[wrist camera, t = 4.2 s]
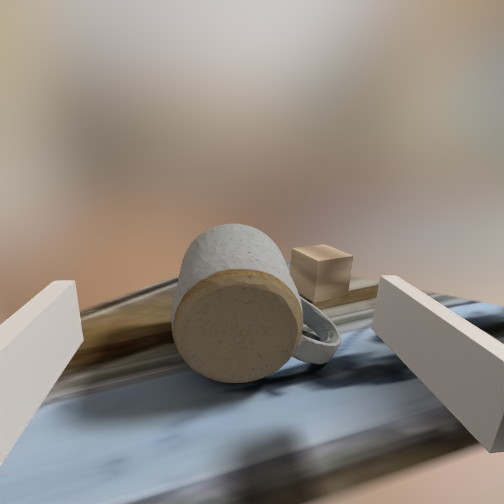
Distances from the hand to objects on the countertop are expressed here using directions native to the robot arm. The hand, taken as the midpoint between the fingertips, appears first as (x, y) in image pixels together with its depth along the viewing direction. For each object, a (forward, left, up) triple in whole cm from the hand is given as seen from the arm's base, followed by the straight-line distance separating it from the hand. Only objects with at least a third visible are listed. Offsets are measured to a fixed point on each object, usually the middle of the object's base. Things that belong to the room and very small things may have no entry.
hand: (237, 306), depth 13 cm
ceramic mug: (-2, -6, -6) cm, 9 cm away
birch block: (-9, -14, -6) cm, 18 cm away
